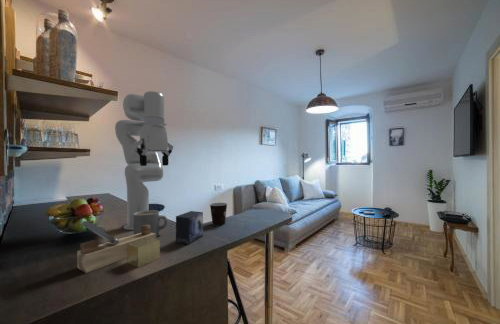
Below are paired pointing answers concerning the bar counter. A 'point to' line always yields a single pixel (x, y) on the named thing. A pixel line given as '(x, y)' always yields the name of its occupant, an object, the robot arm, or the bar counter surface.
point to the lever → (100, 232)
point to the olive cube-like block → (143, 251)
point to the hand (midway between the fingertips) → (154, 165)
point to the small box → (189, 227)
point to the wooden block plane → (107, 251)
